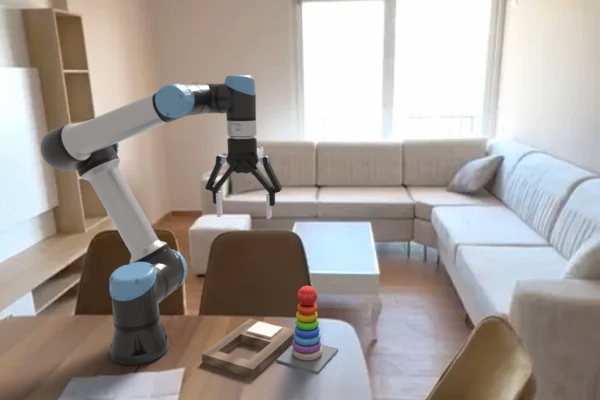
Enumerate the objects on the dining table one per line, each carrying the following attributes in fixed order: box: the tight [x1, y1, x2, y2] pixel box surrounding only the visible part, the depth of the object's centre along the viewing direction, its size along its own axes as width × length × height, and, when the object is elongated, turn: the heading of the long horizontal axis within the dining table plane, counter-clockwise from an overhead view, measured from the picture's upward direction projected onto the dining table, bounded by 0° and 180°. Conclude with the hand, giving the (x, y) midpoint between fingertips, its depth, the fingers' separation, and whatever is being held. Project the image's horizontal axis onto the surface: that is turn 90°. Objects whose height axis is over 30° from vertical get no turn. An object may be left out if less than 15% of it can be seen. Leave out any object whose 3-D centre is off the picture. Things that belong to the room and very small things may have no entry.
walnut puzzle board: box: [201, 318, 295, 379], centre depth 133 cm, size 16×22×3 cm
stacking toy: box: [291, 285, 322, 361], centre depth 127 cm, size 8×8×19 cm
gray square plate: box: [275, 343, 339, 374], centre depth 130 cm, size 12×12×1 cm
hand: (244, 216), depth 132 cm, fingers open, 13 cm apart
